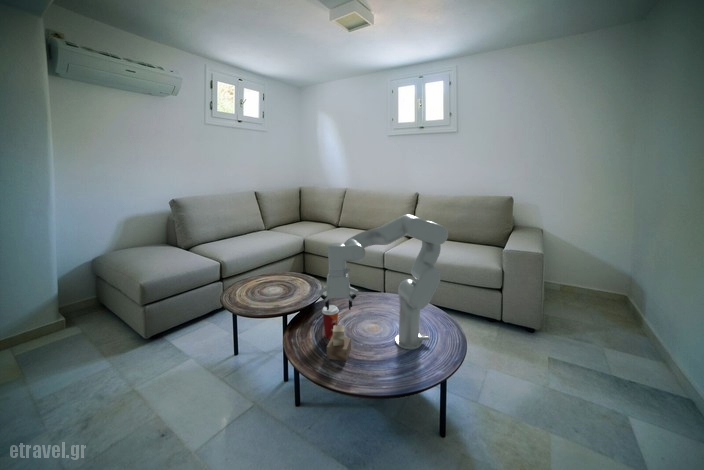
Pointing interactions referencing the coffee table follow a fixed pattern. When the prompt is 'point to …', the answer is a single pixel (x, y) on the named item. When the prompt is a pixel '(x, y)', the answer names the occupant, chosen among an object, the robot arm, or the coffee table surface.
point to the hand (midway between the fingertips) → (338, 308)
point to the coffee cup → (330, 319)
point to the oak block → (338, 335)
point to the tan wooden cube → (339, 350)
